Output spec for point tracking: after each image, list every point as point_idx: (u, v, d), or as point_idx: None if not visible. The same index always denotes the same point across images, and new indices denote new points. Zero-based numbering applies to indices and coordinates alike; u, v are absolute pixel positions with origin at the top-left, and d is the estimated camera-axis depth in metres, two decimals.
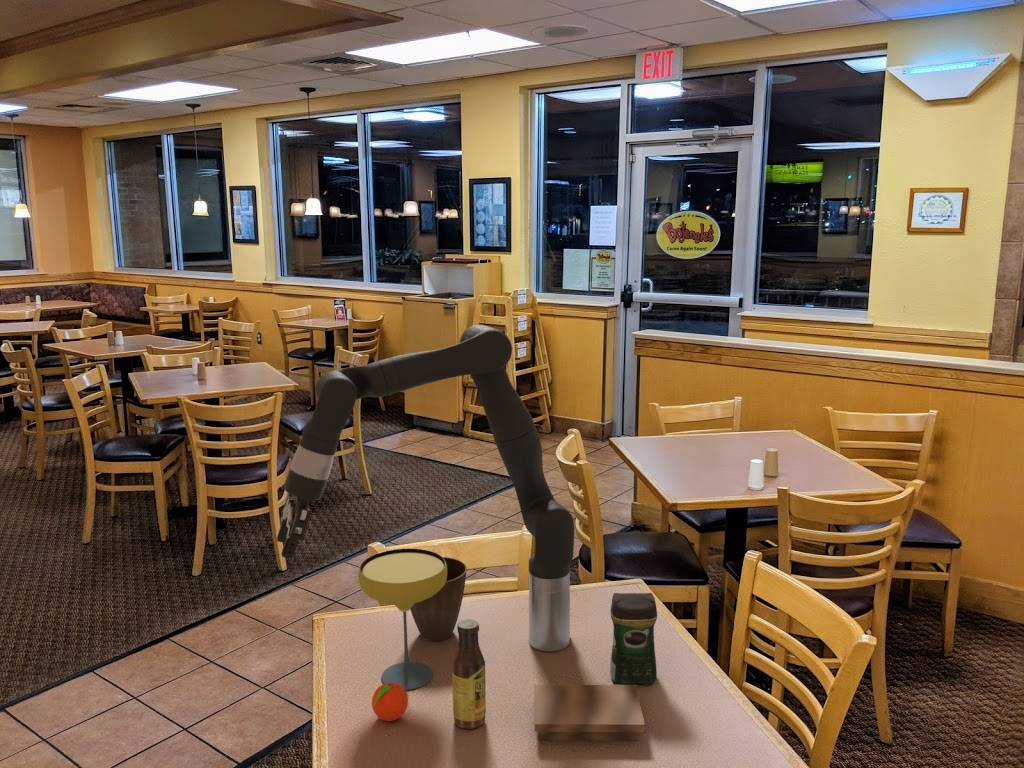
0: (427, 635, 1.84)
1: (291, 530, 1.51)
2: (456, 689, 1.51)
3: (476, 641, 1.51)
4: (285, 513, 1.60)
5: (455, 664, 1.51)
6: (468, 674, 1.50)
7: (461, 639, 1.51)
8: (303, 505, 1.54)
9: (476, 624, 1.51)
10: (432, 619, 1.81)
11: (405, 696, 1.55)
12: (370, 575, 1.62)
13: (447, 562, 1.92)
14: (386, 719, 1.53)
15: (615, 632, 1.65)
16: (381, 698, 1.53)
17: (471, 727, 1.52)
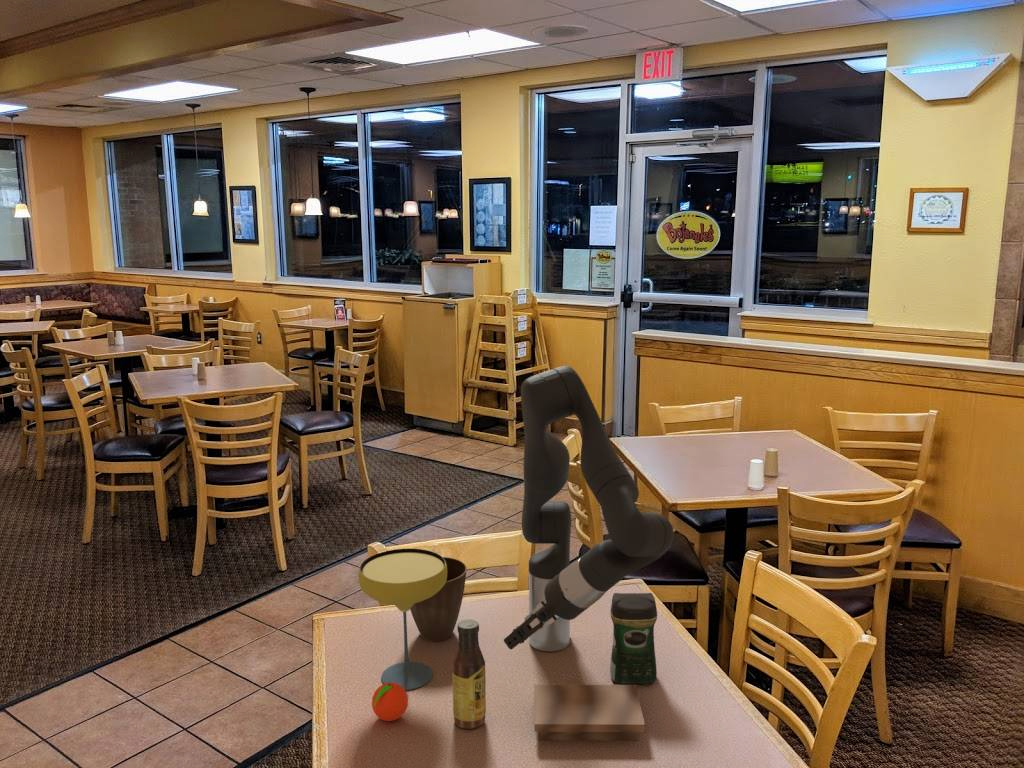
0: (427, 635, 1.84)
1: None
2: (456, 689, 1.51)
3: (476, 641, 1.51)
4: None
5: (455, 664, 1.51)
6: (468, 674, 1.50)
7: (461, 639, 1.51)
8: None
9: (476, 624, 1.51)
10: (432, 619, 1.81)
11: (405, 696, 1.55)
12: (370, 575, 1.62)
13: (447, 562, 1.92)
14: (386, 719, 1.53)
15: (615, 632, 1.65)
16: (381, 698, 1.53)
17: (471, 727, 1.52)
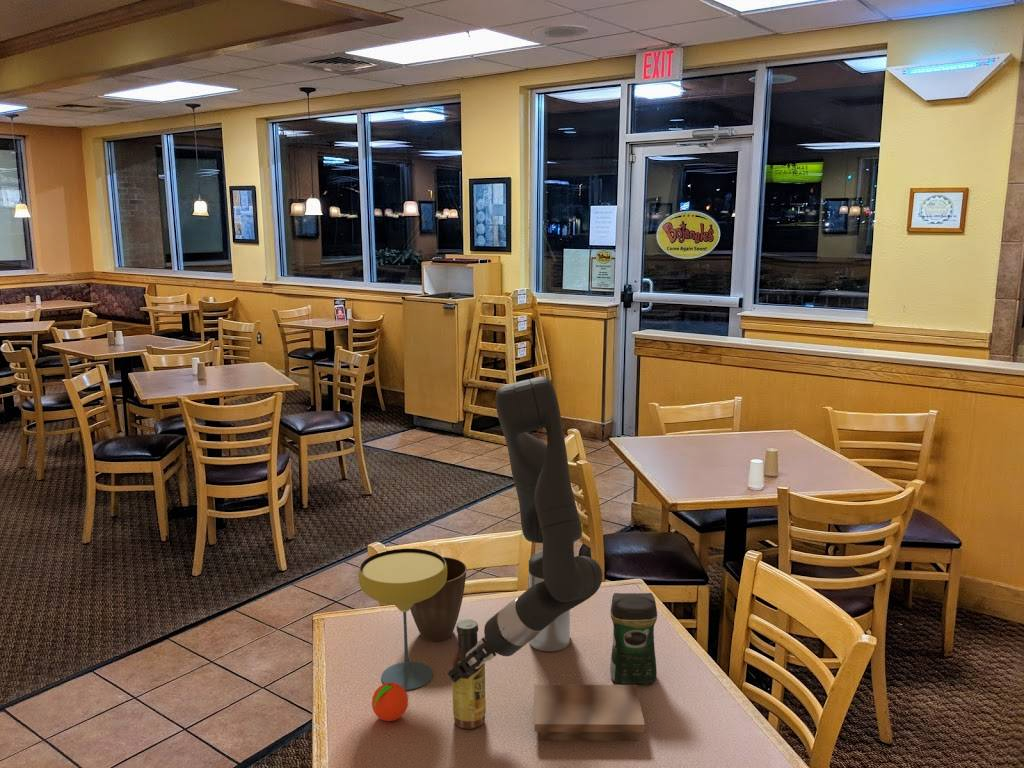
0: (427, 635, 1.84)
1: None
2: (455, 689, 1.51)
3: (475, 641, 1.51)
4: None
5: (455, 664, 1.51)
6: (468, 674, 1.50)
7: (460, 639, 1.51)
8: None
9: (475, 624, 1.51)
10: (432, 619, 1.81)
11: (405, 696, 1.55)
12: (370, 575, 1.62)
13: (447, 562, 1.92)
14: (386, 719, 1.53)
15: (615, 632, 1.65)
16: (381, 698, 1.53)
17: (471, 727, 1.52)
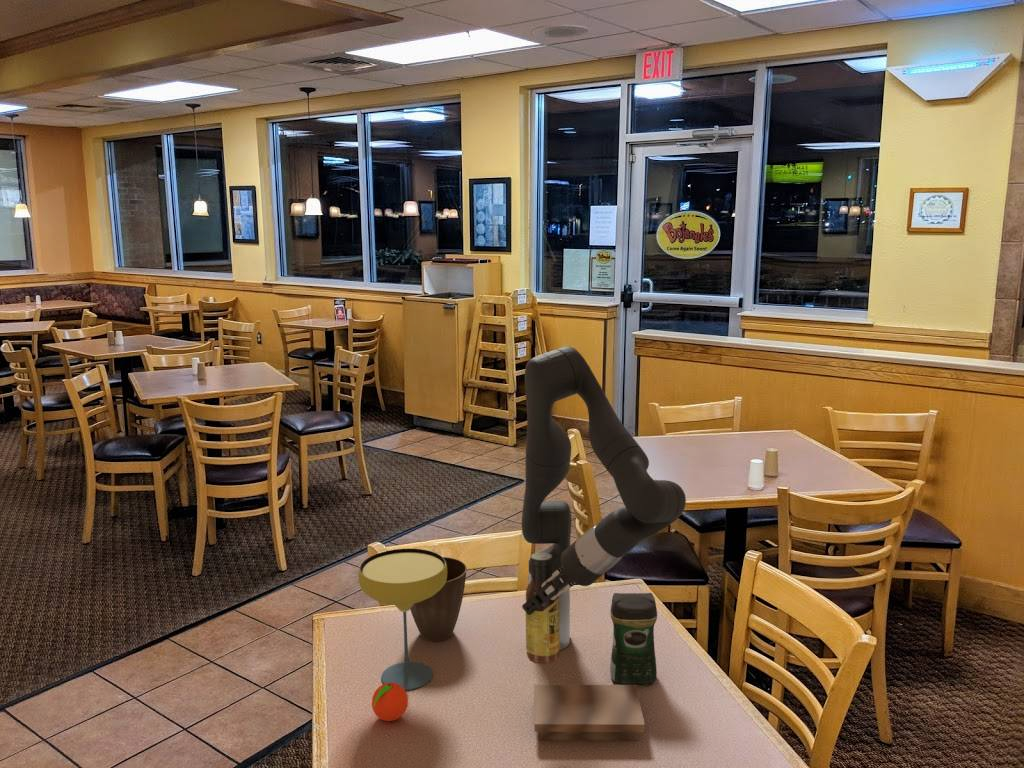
0: (427, 635, 1.84)
1: None
2: (529, 623, 1.48)
3: (550, 573, 1.48)
4: None
5: (529, 596, 1.47)
6: (543, 607, 1.46)
7: (535, 571, 1.47)
8: None
9: (550, 556, 1.48)
10: (432, 619, 1.81)
11: (405, 696, 1.55)
12: (370, 575, 1.62)
13: (447, 562, 1.92)
14: (386, 719, 1.53)
15: (615, 632, 1.65)
16: (381, 698, 1.53)
17: (546, 662, 1.48)
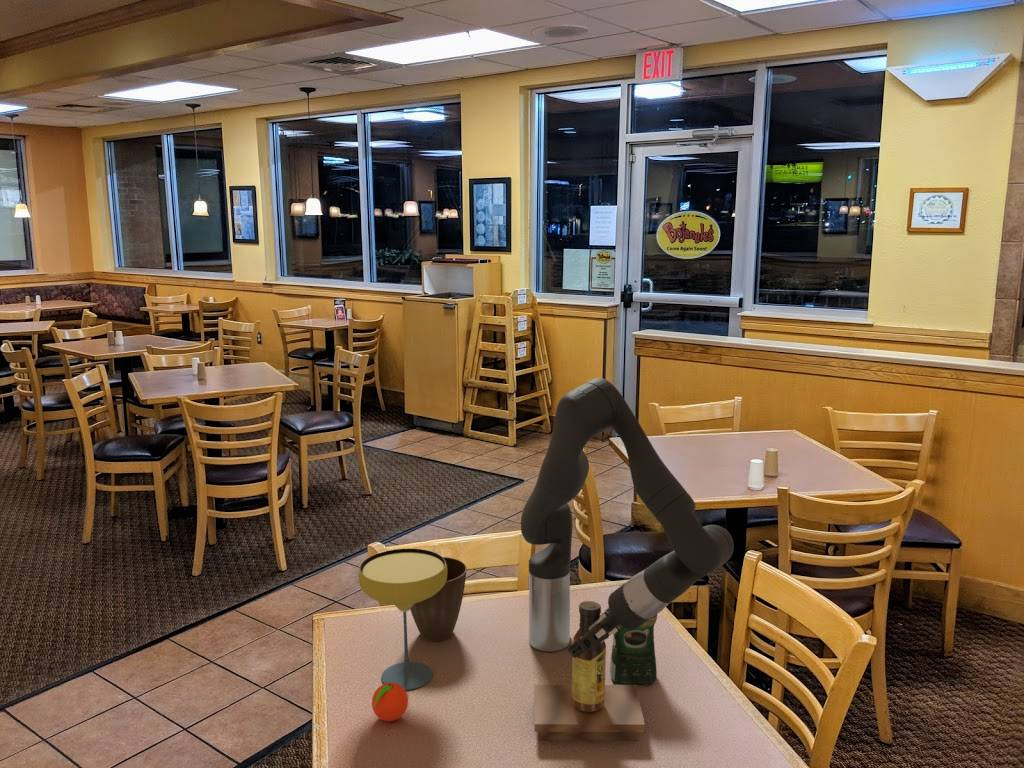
0: (427, 635, 1.84)
1: None
2: (577, 672, 1.49)
3: None
4: None
5: None
6: (591, 656, 1.48)
7: (584, 620, 1.49)
8: None
9: (598, 606, 1.49)
10: (432, 619, 1.81)
11: (405, 696, 1.55)
12: (370, 575, 1.62)
13: (447, 562, 1.92)
14: (386, 719, 1.53)
15: None
16: (381, 698, 1.53)
17: (592, 710, 1.50)
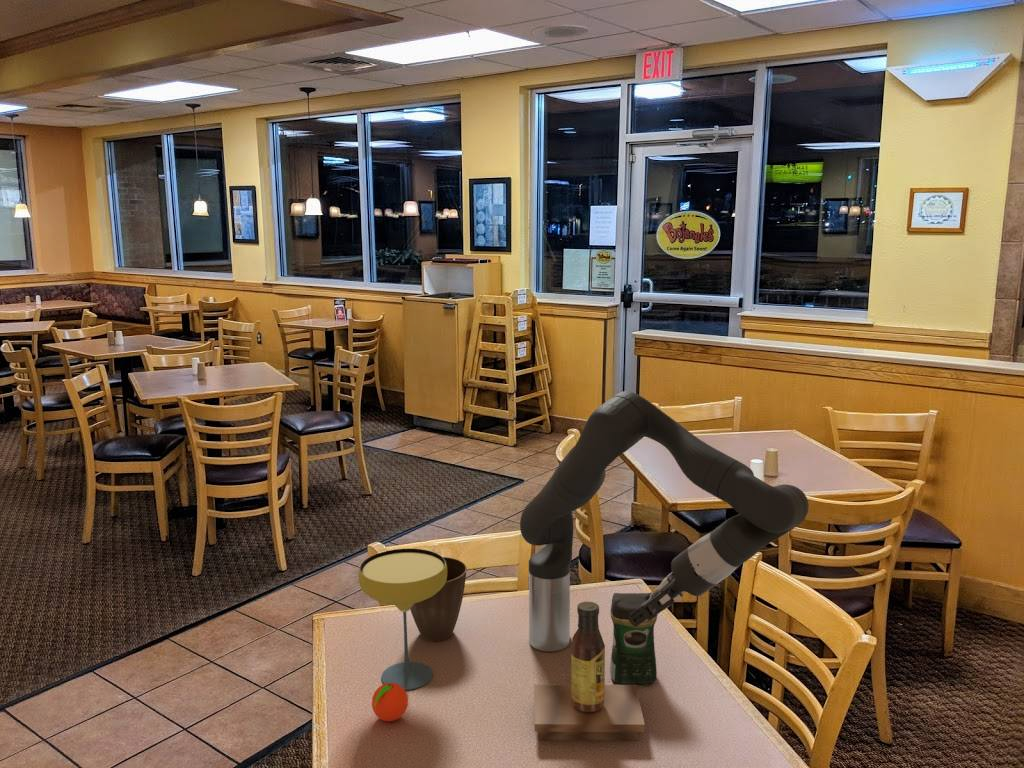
0: (427, 635, 1.84)
1: None
2: (576, 672, 1.49)
3: (597, 623, 1.49)
4: None
5: (576, 646, 1.49)
6: (590, 656, 1.48)
7: (582, 621, 1.49)
8: None
9: (597, 606, 1.49)
10: (432, 619, 1.81)
11: (405, 696, 1.55)
12: (370, 575, 1.62)
13: (447, 562, 1.92)
14: (386, 719, 1.53)
15: (615, 632, 1.65)
16: (381, 698, 1.53)
17: (592, 711, 1.50)
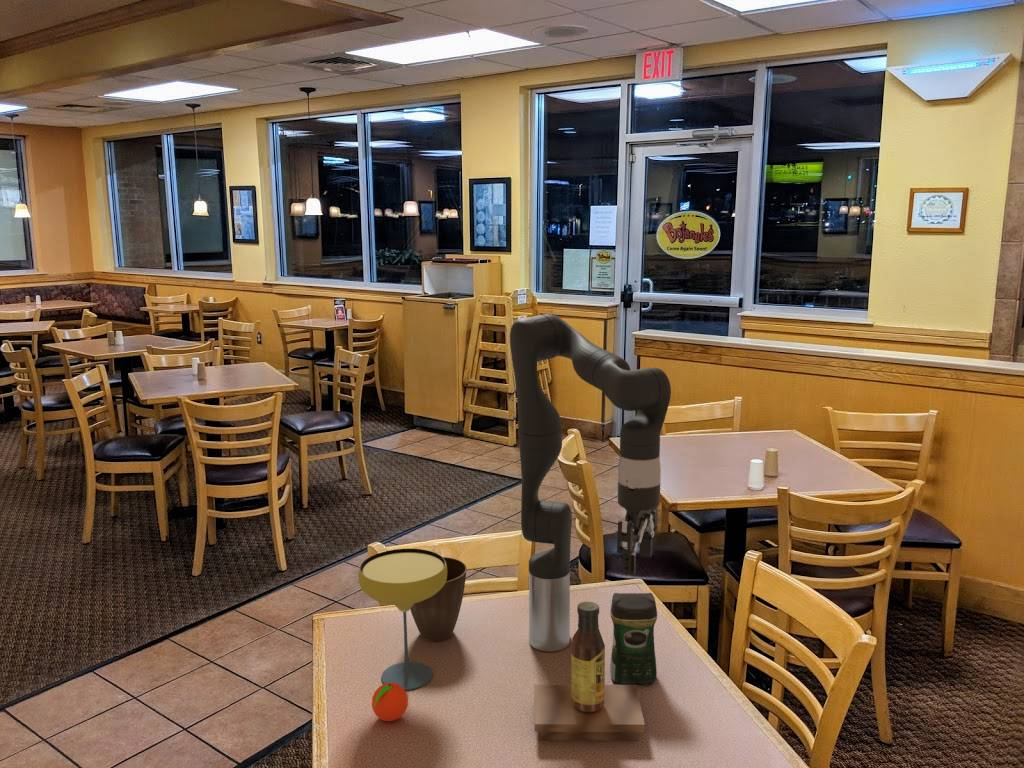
0: (427, 635, 1.84)
1: (656, 523, 1.51)
2: (576, 672, 1.49)
3: (597, 623, 1.49)
4: None
5: (576, 646, 1.49)
6: (590, 656, 1.48)
7: (582, 621, 1.49)
8: None
9: (597, 606, 1.49)
10: (432, 619, 1.81)
11: (405, 696, 1.55)
12: (370, 575, 1.62)
13: (447, 562, 1.92)
14: (386, 719, 1.53)
15: (615, 632, 1.65)
16: (381, 698, 1.53)
17: (592, 711, 1.50)
